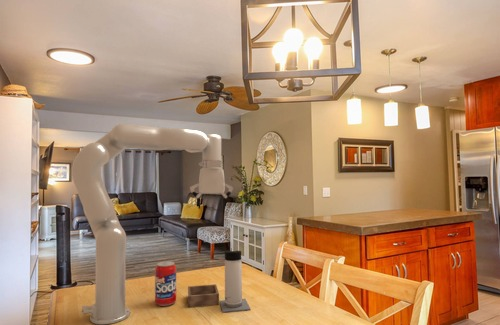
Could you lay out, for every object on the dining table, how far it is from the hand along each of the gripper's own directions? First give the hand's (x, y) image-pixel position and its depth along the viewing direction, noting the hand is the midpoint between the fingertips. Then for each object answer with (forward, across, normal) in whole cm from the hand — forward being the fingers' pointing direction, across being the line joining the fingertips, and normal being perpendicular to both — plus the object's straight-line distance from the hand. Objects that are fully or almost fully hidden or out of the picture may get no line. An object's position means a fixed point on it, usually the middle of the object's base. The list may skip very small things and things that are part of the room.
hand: (211, 208), depth 131 cm
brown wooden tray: (+35, -3, -2) cm, 35 cm away
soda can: (+36, -17, -2) cm, 39 cm away
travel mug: (+35, +8, -10) cm, 37 cm away
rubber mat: (+35, +8, -10) cm, 37 cm away
